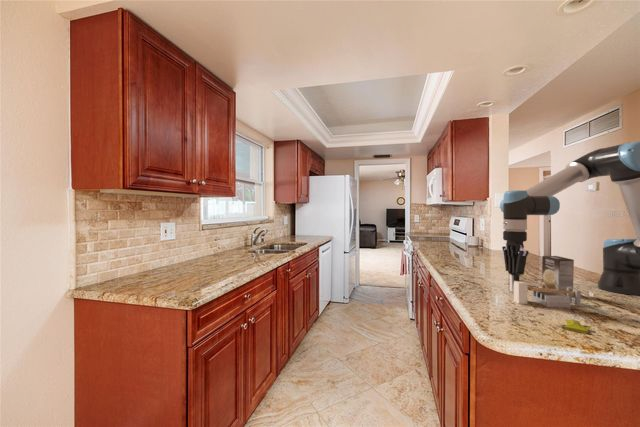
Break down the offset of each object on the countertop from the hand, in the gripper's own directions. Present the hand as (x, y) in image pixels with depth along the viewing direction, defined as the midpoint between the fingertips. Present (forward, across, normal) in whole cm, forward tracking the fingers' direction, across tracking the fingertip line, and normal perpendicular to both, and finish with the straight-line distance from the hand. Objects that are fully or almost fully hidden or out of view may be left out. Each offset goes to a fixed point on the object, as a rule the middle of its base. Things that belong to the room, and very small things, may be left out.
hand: (514, 291), depth 108 cm
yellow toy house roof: (+5, +23, +5) cm, 24 cm away
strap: (-1, +4, +11) cm, 11 cm away
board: (+5, +4, +11) cm, 12 cm away
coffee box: (+5, -11, +24) cm, 27 cm away
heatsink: (+3, +4, +11) cm, 12 cm away
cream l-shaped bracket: (+3, +4, +2) cm, 5 cm away
